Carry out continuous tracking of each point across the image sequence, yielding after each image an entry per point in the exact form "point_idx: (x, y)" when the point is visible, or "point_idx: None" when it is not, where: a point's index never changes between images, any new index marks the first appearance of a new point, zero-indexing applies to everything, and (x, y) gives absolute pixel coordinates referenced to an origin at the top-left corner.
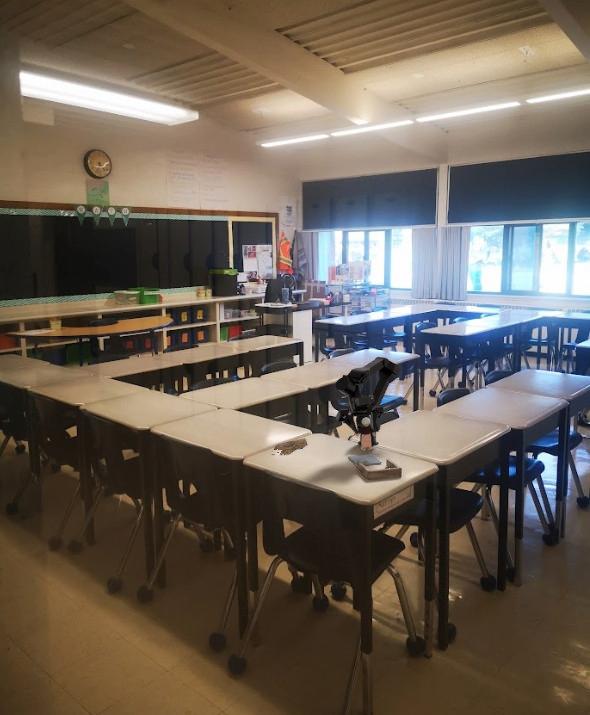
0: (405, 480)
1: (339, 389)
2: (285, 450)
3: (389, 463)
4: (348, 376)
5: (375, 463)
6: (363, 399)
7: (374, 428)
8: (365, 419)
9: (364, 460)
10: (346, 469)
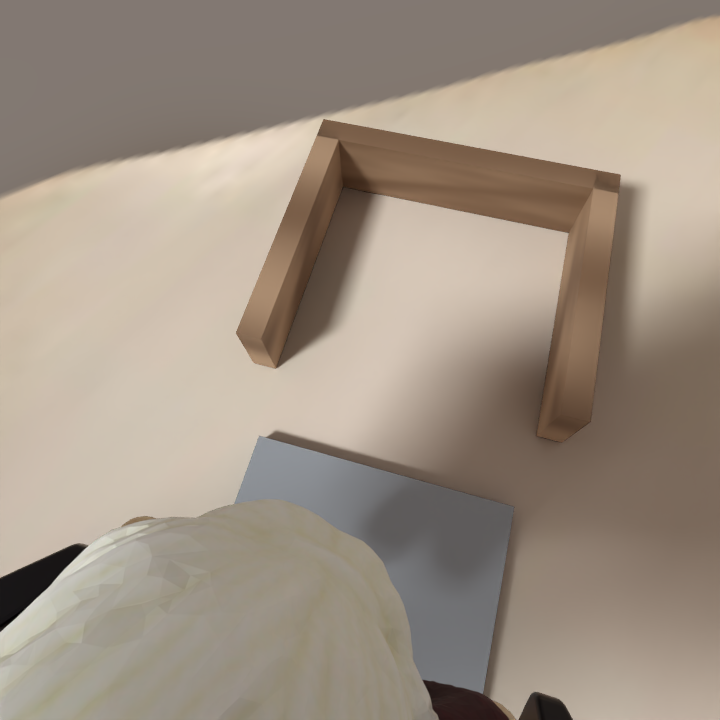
0: (360, 111)
1: None
2: None
3: (288, 289)
4: None
5: (322, 454)
6: None
7: (24, 586)
8: (263, 690)
9: None
10: (658, 493)
